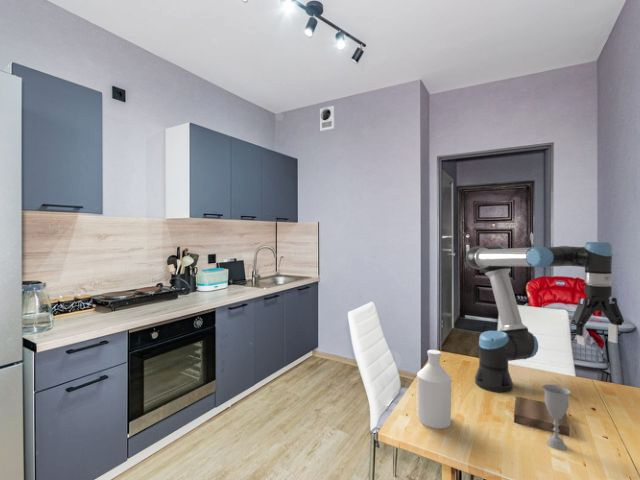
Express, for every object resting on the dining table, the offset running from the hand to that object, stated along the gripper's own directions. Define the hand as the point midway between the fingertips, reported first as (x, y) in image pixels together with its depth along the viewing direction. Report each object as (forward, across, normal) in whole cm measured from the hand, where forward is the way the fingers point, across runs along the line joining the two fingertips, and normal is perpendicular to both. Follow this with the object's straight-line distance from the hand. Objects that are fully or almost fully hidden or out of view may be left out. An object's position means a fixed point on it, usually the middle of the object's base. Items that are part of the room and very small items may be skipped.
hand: (597, 343), depth 122 cm
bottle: (+28, -57, +12) cm, 65 cm away
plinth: (+28, -19, +5) cm, 34 cm away
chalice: (+28, -27, -9) cm, 40 cm away
